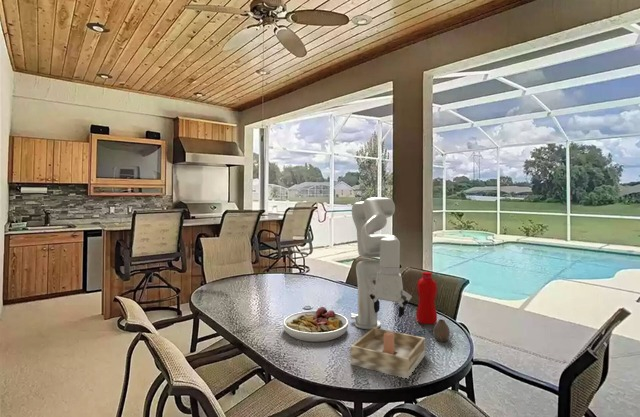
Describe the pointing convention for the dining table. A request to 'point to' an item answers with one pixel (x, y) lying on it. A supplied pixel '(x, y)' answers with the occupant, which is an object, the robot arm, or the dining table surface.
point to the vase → (441, 331)
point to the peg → (389, 343)
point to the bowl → (316, 325)
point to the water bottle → (426, 299)
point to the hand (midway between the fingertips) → (388, 313)
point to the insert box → (373, 357)
